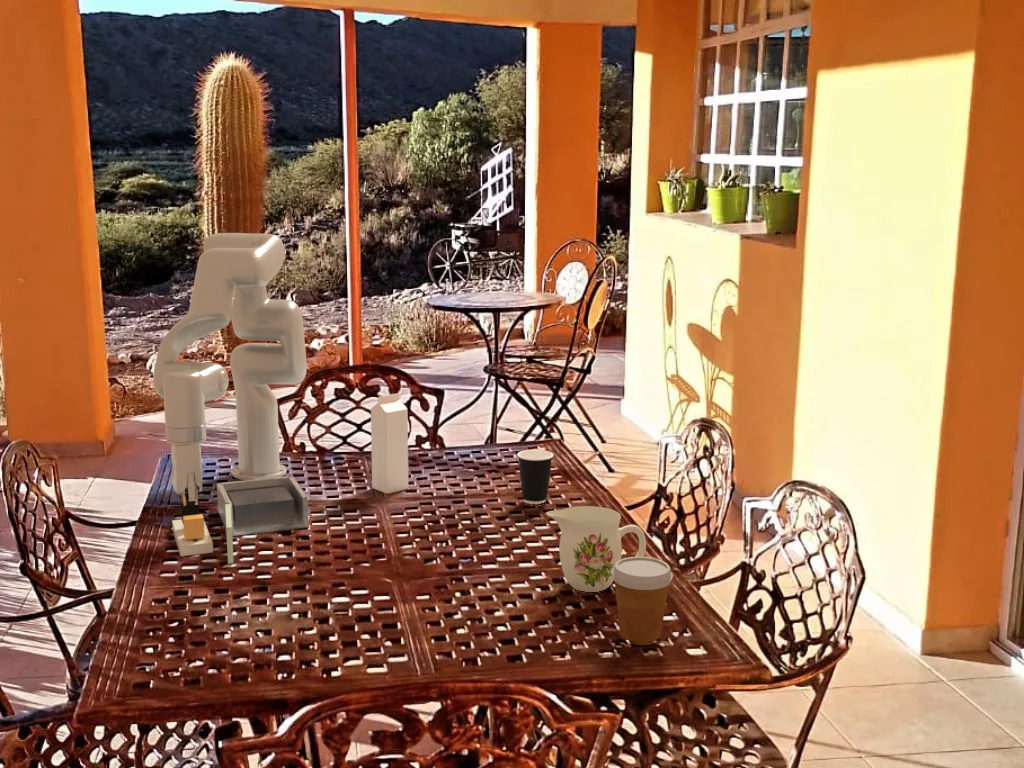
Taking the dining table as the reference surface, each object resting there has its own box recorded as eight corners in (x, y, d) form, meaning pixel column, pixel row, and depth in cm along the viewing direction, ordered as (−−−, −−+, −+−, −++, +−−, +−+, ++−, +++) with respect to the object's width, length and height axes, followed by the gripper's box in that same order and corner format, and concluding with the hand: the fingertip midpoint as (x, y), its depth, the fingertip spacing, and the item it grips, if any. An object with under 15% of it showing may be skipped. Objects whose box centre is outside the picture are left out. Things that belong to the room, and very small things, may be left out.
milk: (408, 489, 249) (408, 395, 244) (387, 494, 245) (386, 398, 240) (392, 483, 253) (392, 390, 249) (371, 488, 249) (370, 394, 245)
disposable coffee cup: (597, 637, 172) (599, 565, 170) (635, 620, 179) (638, 551, 176) (644, 657, 165) (647, 582, 163) (682, 638, 172) (685, 566, 170)
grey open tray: (218, 512, 231) (216, 483, 229) (293, 504, 237) (292, 475, 235) (228, 536, 216) (227, 505, 215) (308, 527, 222) (307, 496, 221)
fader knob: (183, 535, 210) (182, 516, 209) (203, 533, 211) (202, 514, 210) (185, 539, 207) (184, 520, 207) (204, 537, 209) (203, 517, 208)
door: (232, 535, 216) (231, 500, 215) (234, 563, 201) (232, 526, 200) (225, 535, 216) (224, 501, 214) (226, 563, 201) (225, 526, 200)
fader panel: (172, 529, 220) (172, 520, 219) (203, 526, 222) (202, 516, 222) (180, 556, 205) (180, 545, 205) (213, 552, 208) (212, 541, 207)
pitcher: (652, 595, 189) (654, 520, 186) (549, 599, 187) (551, 523, 184) (637, 572, 199) (639, 500, 197) (540, 576, 197) (541, 503, 194)
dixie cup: (559, 503, 239) (560, 455, 237) (531, 510, 234) (531, 461, 232) (538, 494, 245) (538, 447, 243) (509, 500, 241) (510, 452, 238)
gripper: (162, 426, 216) (167, 514, 220) (169, 444, 203) (175, 537, 207) (201, 422, 219) (205, 509, 223) (210, 440, 206) (215, 532, 209)
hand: (190, 522), depth 215 cm, fingers closed
